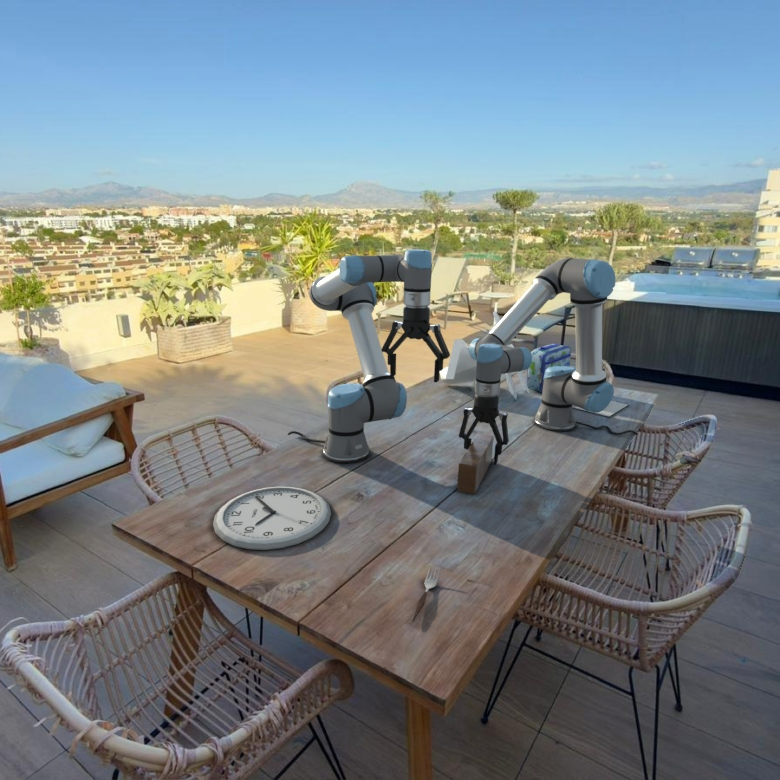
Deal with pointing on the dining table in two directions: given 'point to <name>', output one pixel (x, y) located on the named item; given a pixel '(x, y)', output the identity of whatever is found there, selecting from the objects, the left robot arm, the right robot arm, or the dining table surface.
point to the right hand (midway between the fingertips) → (481, 460)
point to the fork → (428, 584)
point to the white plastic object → (472, 367)
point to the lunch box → (546, 363)
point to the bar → (475, 463)
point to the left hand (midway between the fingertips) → (414, 378)
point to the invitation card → (609, 408)
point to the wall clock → (272, 518)
